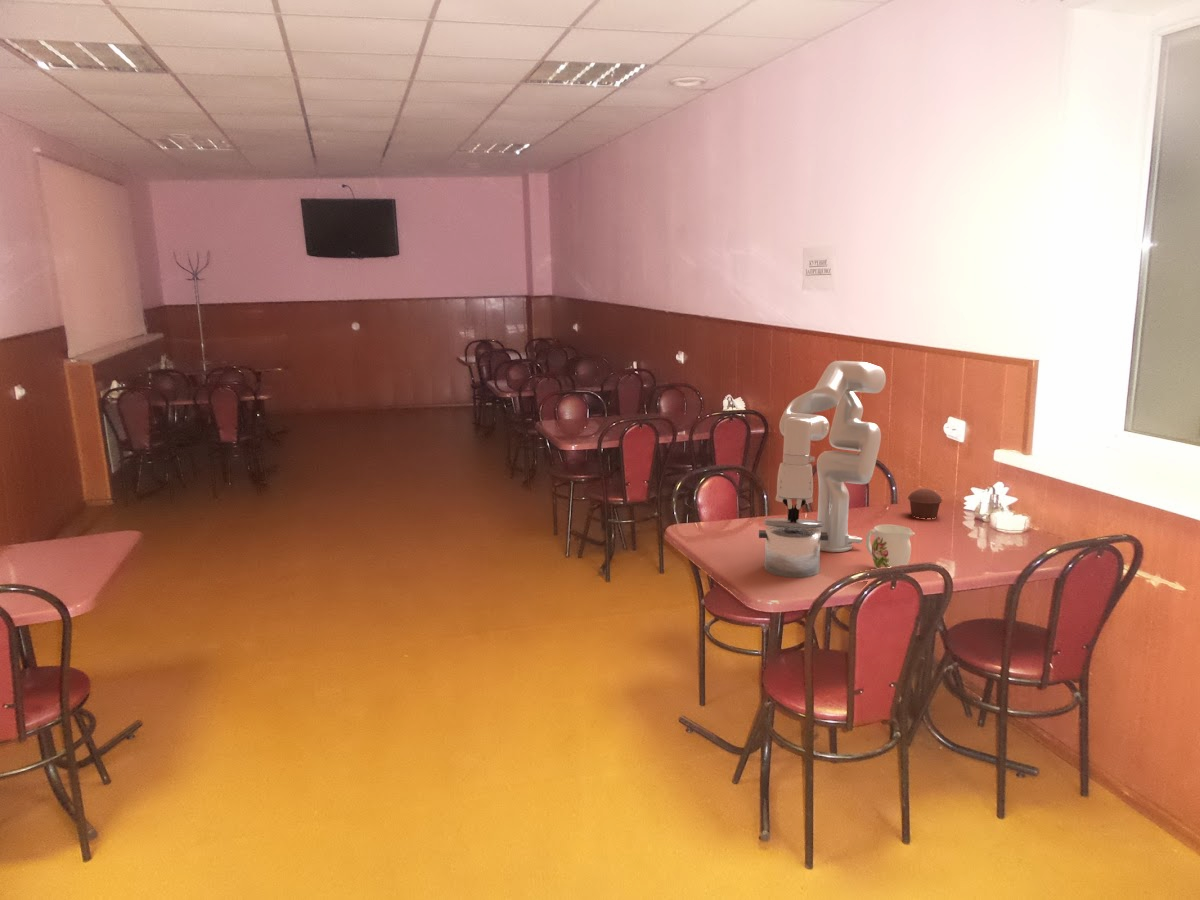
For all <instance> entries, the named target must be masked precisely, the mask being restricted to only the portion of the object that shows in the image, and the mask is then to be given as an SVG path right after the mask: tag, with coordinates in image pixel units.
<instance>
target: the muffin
mask: <svg viewBox="0 0 1200 900" xmlns="http://www.w3.org/2000/svg"><path fill="white" fill-rule="evenodd" d="M907 499H908V501H909V504H910V513H911V514H910V515H913V516H915V517H919V518H925V519H927V518H931V519H932V518H935V517H938V514H939V513H938V512H939V509H940V504H941V503H942V502H943V499H942V496H940V495H939V494H938V493H937V492H936V491H935V490H932V489H927V488H920V489H916V490H914V491H912V492H911V493H910V494H909V495H908V497H907Z"/></svg>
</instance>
